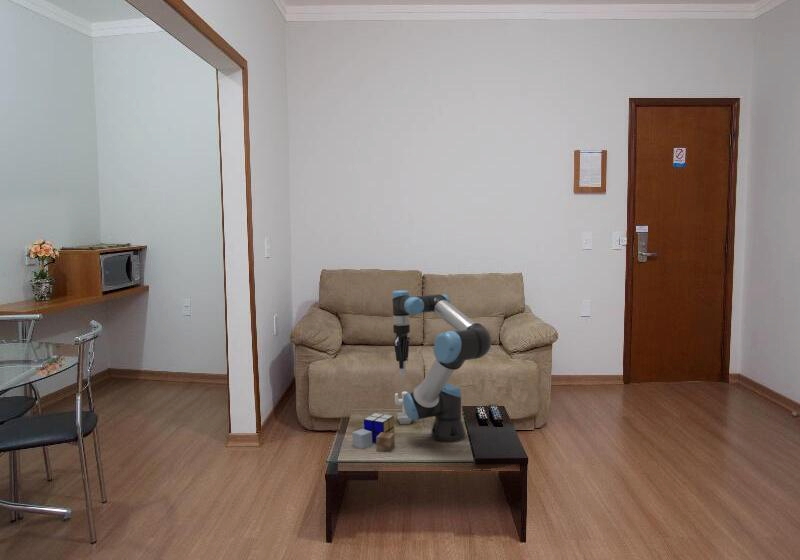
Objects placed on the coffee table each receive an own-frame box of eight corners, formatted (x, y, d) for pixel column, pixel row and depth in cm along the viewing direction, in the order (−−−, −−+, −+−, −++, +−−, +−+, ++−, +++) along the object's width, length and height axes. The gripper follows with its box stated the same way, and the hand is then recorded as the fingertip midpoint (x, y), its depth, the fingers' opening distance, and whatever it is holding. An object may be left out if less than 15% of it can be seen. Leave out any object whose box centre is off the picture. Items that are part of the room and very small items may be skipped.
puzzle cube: (363, 441, 254) (363, 419, 253) (375, 434, 263) (374, 412, 262) (383, 444, 250) (383, 422, 249) (394, 437, 259) (394, 415, 258)
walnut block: (394, 447, 247) (394, 433, 247) (390, 452, 241) (389, 438, 241) (381, 445, 249) (381, 432, 248) (376, 450, 243) (376, 436, 243)
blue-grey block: (372, 445, 250) (371, 431, 249) (362, 449, 245) (361, 435, 245) (362, 441, 254) (362, 428, 253) (352, 445, 249) (352, 432, 249)
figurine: (415, 425, 274) (414, 394, 273) (395, 425, 274) (394, 394, 273) (414, 420, 281) (414, 389, 280) (395, 420, 281) (395, 390, 280)
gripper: (400, 321, 272) (401, 371, 273) (387, 326, 260) (389, 377, 262) (414, 322, 269) (416, 372, 270) (402, 326, 257) (403, 379, 259)
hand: (402, 375), depth 266 cm, fingers closed
